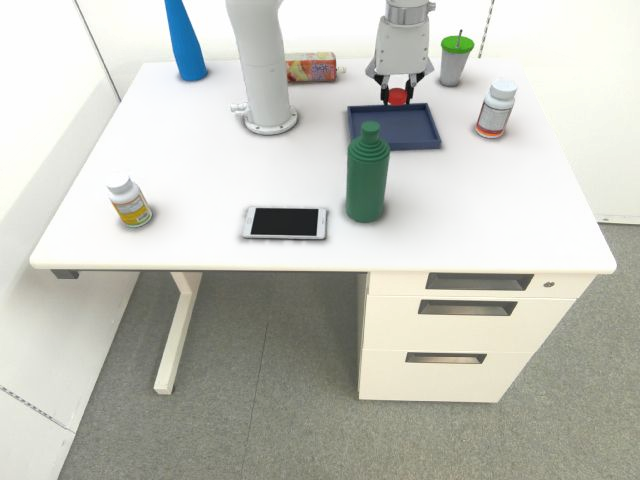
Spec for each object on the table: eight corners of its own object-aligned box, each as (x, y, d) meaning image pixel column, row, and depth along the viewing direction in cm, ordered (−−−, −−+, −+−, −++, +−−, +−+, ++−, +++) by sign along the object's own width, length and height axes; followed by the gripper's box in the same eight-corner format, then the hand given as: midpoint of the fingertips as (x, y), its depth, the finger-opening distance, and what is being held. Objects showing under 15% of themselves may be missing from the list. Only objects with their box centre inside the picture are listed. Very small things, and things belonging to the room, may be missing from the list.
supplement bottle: (127, 208, 79) (105, 170, 71) (154, 206, 79) (135, 168, 71) (120, 229, 75) (97, 191, 68) (149, 226, 75) (129, 188, 68)
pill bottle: (485, 120, 94) (500, 73, 85) (508, 131, 91) (526, 84, 82) (469, 130, 92) (483, 84, 83) (492, 142, 88) (509, 95, 80)
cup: (445, 71, 109) (458, 12, 97) (470, 82, 105) (486, 21, 94) (427, 82, 106) (438, 22, 94) (452, 93, 102) (467, 32, 90)
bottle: (175, 79, 111) (133, -53, 88) (189, 66, 115) (152, -63, 92) (199, 83, 109) (162, -51, 86) (211, 70, 114) (180, -61, 90)
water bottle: (347, 223, 74) (350, 140, 60) (344, 197, 79) (346, 114, 65) (385, 221, 74) (396, 138, 60) (380, 195, 79) (389, 112, 65)
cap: (406, 96, 87) (407, 88, 86) (405, 106, 84) (407, 98, 83) (387, 94, 87) (388, 86, 86) (386, 104, 85) (387, 97, 83)
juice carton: (335, 71, 111) (335, 46, 106) (336, 83, 107) (336, 58, 102) (258, 74, 111) (255, 50, 106) (257, 86, 107) (253, 61, 102)
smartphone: (248, 206, 77) (326, 207, 76) (249, 208, 77) (326, 210, 77) (241, 236, 72) (324, 237, 71) (242, 238, 73) (324, 240, 72)
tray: (351, 152, 88) (352, 144, 86) (347, 113, 98) (347, 105, 96) (439, 148, 88) (441, 141, 86) (426, 110, 98) (427, 102, 96)
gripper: (447, 0, 75) (430, 91, 89) (358, 6, 76) (355, 95, 90) (457, 17, 71) (438, 109, 85) (361, 22, 71) (358, 113, 85)
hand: (395, 101), depth 87 cm, fingers closed on cap, 4 cm apart
